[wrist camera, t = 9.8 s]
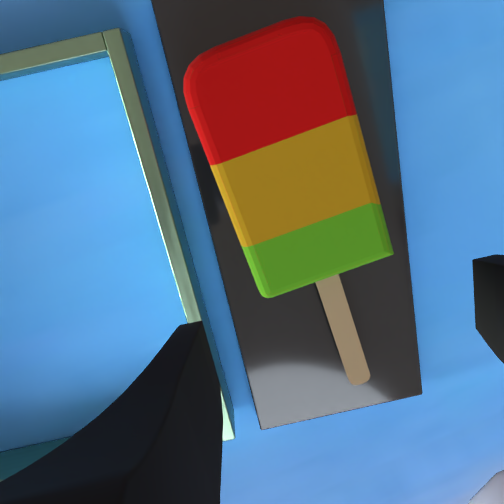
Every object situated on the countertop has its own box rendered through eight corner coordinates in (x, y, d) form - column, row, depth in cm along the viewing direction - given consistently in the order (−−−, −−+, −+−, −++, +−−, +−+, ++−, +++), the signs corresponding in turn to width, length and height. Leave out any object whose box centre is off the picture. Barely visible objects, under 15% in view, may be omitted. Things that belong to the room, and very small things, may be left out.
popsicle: (318, 8, 16) (331, -1, 15) (411, 350, 22) (429, 374, 20) (173, 65, 17) (168, 63, 15) (299, 389, 22) (306, 416, 20)
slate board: (416, 384, 23) (422, 394, 23) (259, 419, 23) (260, 431, 23) (371, -51, 17) (378, -57, 16) (152, -1, 17) (149, -5, 16)
